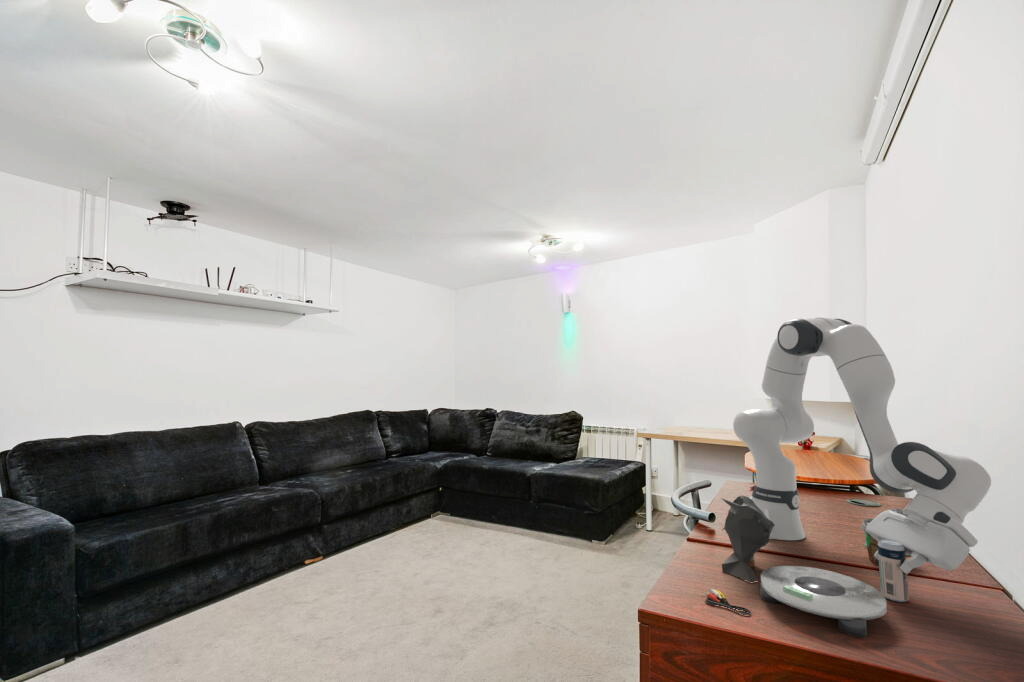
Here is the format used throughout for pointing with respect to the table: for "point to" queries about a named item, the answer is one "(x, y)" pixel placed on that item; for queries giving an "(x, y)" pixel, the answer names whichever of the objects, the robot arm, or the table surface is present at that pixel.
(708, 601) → the composite cable
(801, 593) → the round grey plate
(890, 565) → the beer can
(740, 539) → the dark grey angular piece
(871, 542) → the food container
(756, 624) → the table surface
